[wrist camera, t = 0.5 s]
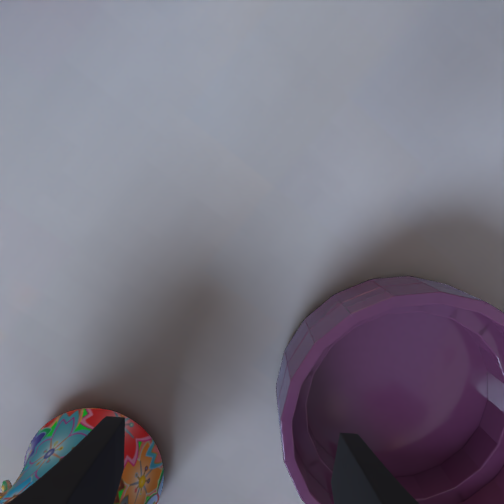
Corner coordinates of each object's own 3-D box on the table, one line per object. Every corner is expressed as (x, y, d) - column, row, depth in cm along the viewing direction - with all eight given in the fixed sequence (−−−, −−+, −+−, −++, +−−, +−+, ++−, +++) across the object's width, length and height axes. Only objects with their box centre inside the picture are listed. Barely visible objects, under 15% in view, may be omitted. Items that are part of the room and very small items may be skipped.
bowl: (467, 511, 26) (513, 578, 21) (253, 467, 25) (253, 525, 21) (537, 303, 24) (603, 328, 19) (307, 251, 23) (320, 264, 19)
